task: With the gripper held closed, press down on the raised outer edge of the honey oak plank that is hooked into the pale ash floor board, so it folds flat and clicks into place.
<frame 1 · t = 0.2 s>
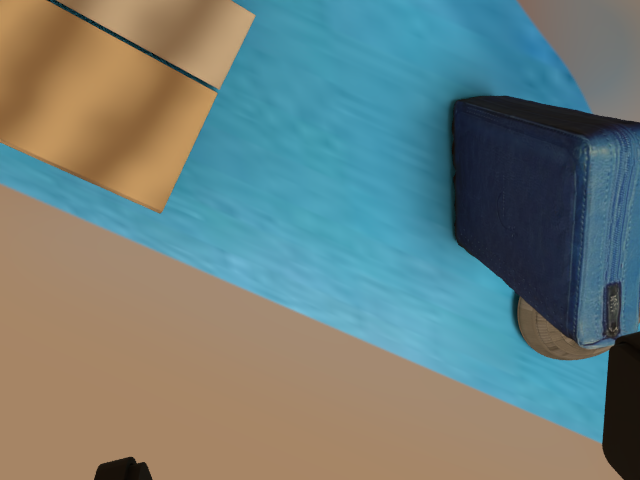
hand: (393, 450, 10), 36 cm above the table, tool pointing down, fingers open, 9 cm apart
ash board: (65, 7, 38), on the table
flying saucer: (575, 290, 56), on the table
book: (470, 171, 48), on the table
oak plank: (26, 73, 36), point 3 cm above the table, hinge at 25.0°
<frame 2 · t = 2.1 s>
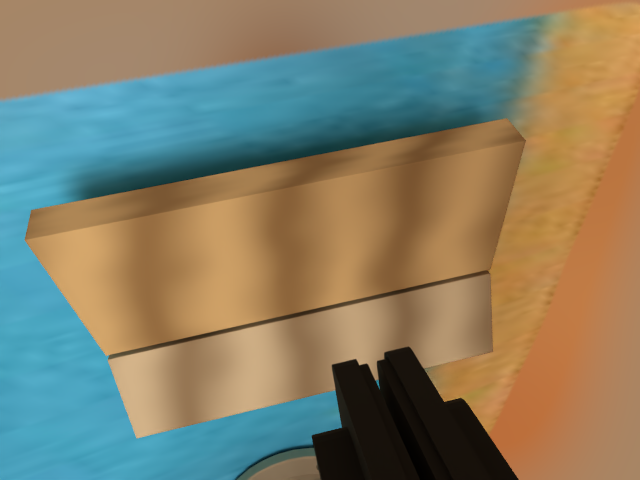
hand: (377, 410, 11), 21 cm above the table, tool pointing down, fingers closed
ash board: (301, 295, 34), on the table
oak plank: (294, 244, 29), point 3 cm above the table, hinge at 25.0°
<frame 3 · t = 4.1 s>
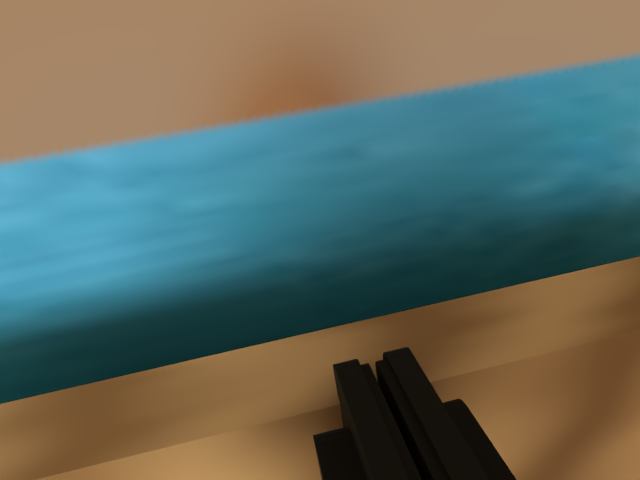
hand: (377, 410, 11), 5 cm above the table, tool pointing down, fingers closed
oak plank: (365, 459, 15), point 3 cm above the table, hinge at 21.3°, touching gripper
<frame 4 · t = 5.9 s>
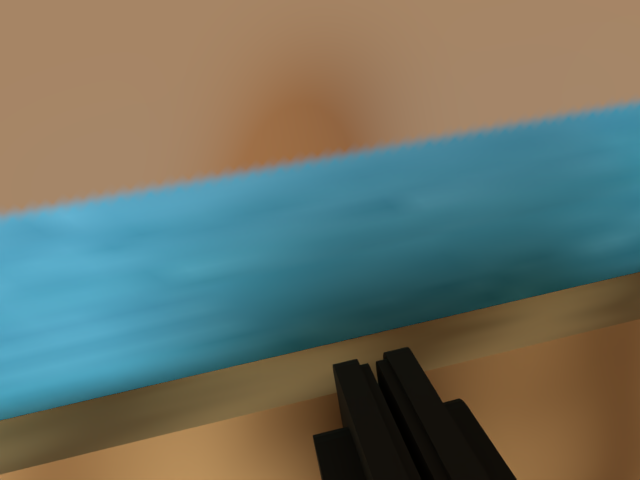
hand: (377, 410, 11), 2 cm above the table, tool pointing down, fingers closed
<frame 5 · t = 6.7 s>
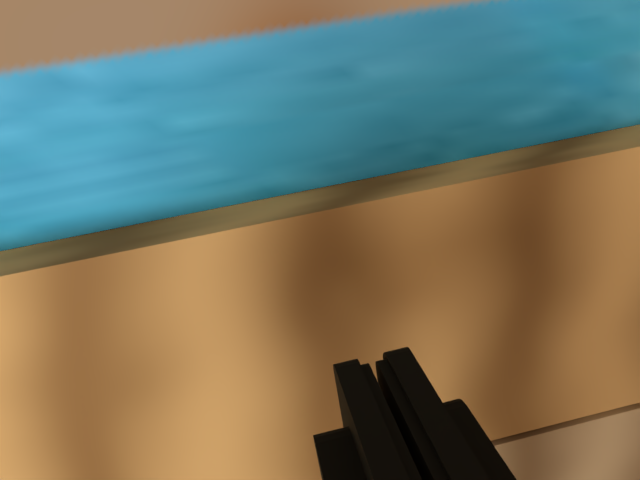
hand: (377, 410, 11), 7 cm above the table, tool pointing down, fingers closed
ash board: (351, 432, 20), on the table
oak plank: (340, 340, 17), point 1 cm above the table, hinge at -0.5°
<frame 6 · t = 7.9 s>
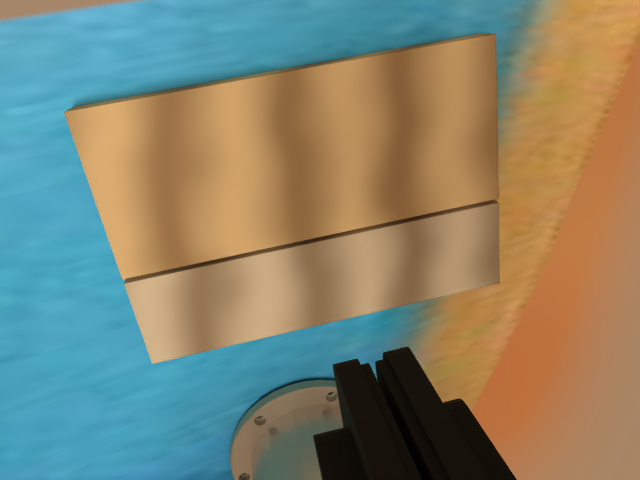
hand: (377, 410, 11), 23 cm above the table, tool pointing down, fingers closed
ash board: (312, 225, 34), on the table
oak plank: (301, 156, 31), point 1 cm above the table, hinge at -0.5°
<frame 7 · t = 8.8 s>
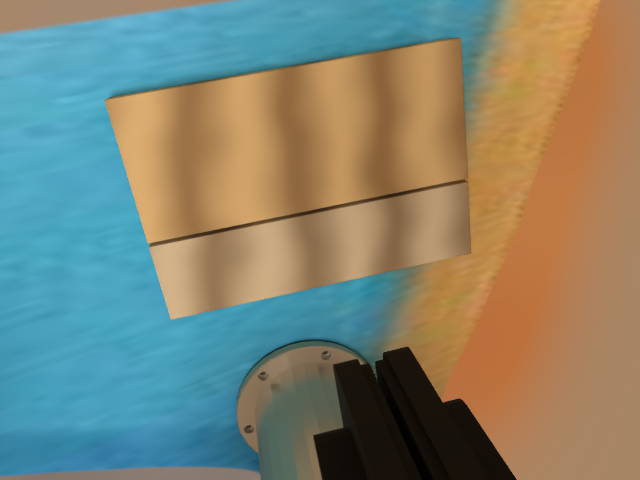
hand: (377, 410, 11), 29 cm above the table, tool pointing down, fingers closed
ash board: (308, 201, 40), on the table
oak plank: (299, 140, 37), point 1 cm above the table, hinge at -0.5°
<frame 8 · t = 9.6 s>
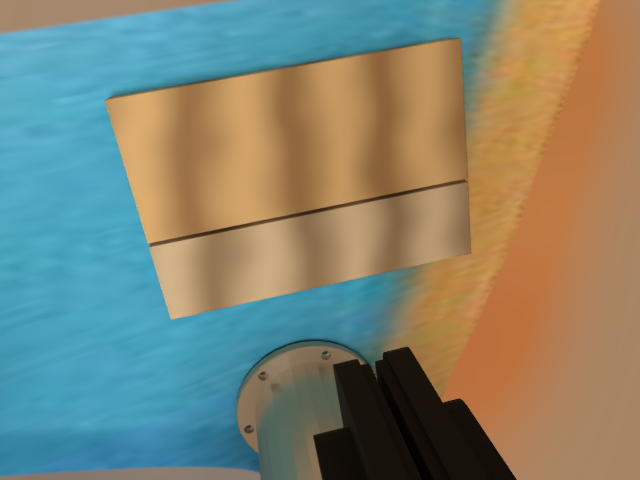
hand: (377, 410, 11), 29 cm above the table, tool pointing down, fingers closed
ash board: (308, 201, 40), on the table
oak plank: (299, 140, 37), point 1 cm above the table, hinge at -0.5°
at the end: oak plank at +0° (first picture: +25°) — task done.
